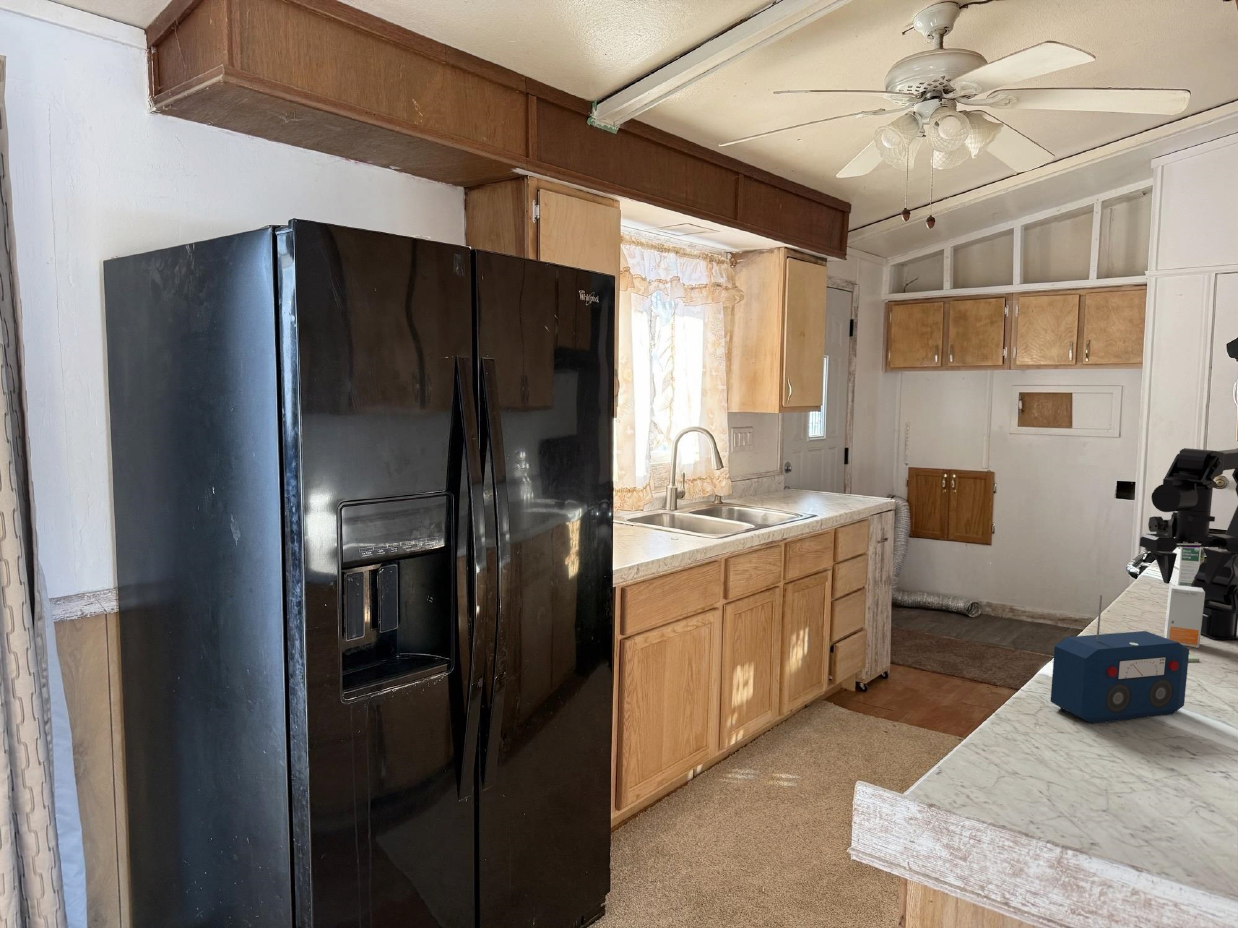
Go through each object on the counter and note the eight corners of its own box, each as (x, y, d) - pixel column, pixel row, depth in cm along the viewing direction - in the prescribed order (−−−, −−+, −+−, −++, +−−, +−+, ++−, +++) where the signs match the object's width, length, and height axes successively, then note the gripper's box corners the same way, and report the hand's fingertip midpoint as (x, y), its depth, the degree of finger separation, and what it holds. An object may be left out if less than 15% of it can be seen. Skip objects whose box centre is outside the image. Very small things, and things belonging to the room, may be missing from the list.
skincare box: (1165, 643, 179) (1170, 587, 178) (1163, 638, 183) (1168, 583, 181) (1200, 648, 176) (1205, 591, 175) (1197, 643, 180) (1202, 587, 179)
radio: (1087, 728, 134) (1097, 604, 132) (1045, 707, 143) (1054, 590, 141) (1191, 716, 140) (1202, 597, 138) (1145, 696, 148) (1155, 584, 146)
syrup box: (1177, 588, 228) (1182, 534, 226) (1170, 583, 233) (1174, 531, 232) (1201, 590, 226) (1206, 536, 225) (1193, 585, 232) (1198, 532, 230)
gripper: (1207, 503, 185) (1200, 574, 187) (1125, 503, 184) (1119, 574, 185) (1248, 512, 174) (1241, 587, 176) (1161, 511, 173) (1155, 586, 174)
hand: (1187, 583), depth 178 cm, fingers open, 9 cm apart
